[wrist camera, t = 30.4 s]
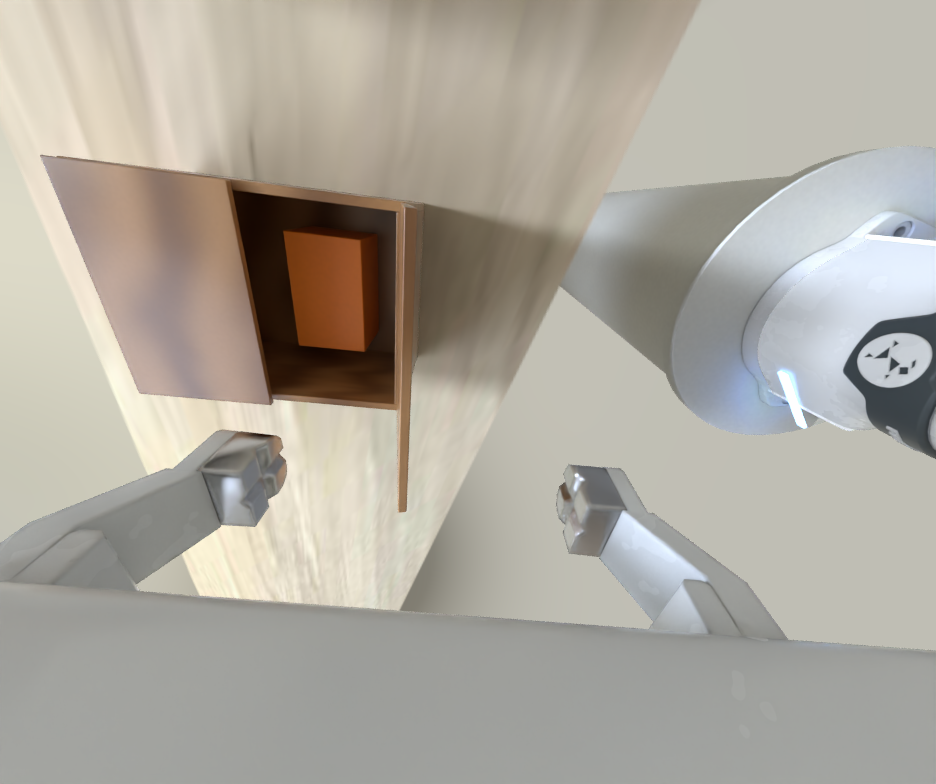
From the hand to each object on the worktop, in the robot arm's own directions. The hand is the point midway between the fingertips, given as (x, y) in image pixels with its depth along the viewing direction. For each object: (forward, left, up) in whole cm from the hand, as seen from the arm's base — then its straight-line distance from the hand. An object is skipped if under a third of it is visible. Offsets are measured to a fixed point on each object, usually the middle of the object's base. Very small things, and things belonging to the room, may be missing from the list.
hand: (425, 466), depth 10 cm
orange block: (+9, 0, -22) cm, 23 cm away
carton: (+11, 0, -22) cm, 25 cm away
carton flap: (+2, 0, -8) cm, 8 cm away
